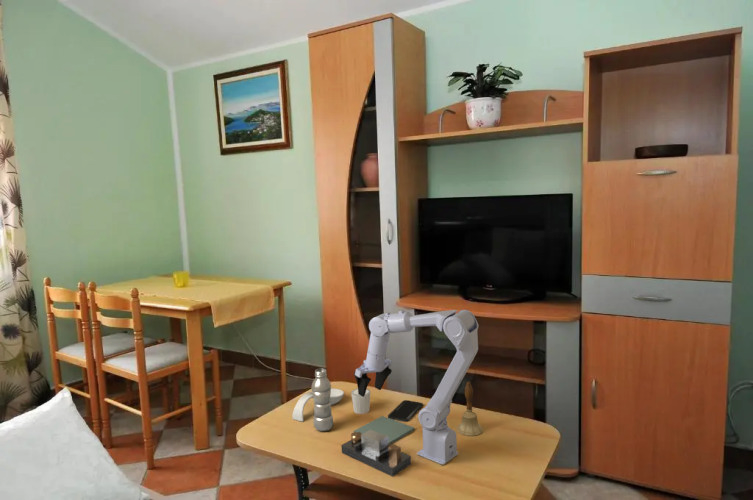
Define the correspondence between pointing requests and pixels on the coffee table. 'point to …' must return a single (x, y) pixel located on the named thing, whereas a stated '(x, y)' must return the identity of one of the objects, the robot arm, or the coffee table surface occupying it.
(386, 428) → the rubber mat
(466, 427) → the hand bell
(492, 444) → the coffee table surface
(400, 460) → the hand plane
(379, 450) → the rectangular metal block
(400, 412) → the phone
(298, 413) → the spoon rest
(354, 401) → the grey and white cylinder
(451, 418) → the coffee table surface
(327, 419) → the silver metal bottle
